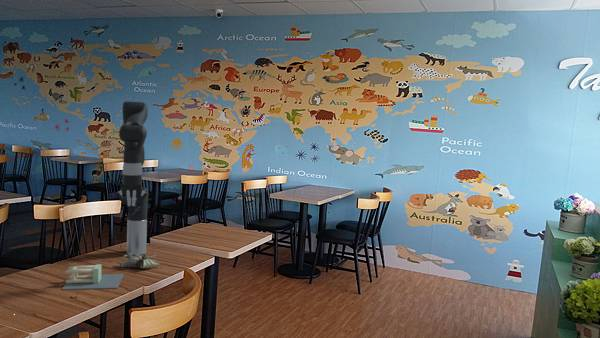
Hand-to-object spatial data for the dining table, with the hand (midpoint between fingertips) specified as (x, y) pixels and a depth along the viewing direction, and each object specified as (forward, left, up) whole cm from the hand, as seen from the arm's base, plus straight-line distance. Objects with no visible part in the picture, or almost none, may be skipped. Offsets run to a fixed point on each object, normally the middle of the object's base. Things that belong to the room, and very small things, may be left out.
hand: (131, 214), depth 187 cm
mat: (+5, -13, -27) cm, 30 cm away
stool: (+5, -11, -24) cm, 27 cm away
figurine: (-14, +3, -28) cm, 31 cm away
